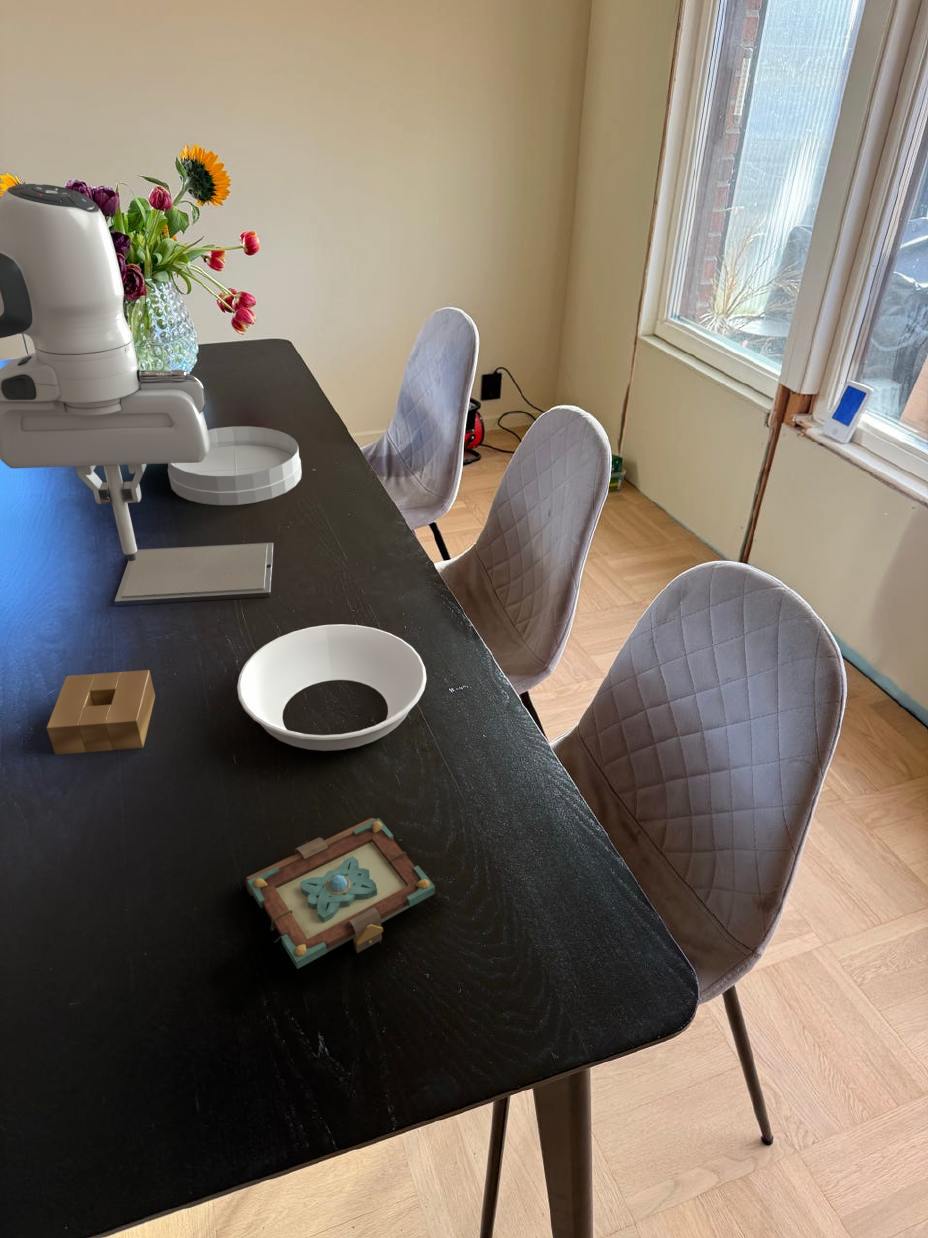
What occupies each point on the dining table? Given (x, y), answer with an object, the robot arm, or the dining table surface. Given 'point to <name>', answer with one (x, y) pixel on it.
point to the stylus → (121, 511)
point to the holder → (102, 712)
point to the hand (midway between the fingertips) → (119, 500)
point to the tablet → (197, 574)
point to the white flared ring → (331, 678)
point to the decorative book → (338, 891)
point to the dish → (239, 467)
